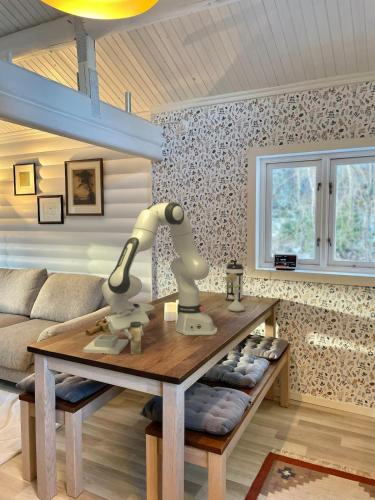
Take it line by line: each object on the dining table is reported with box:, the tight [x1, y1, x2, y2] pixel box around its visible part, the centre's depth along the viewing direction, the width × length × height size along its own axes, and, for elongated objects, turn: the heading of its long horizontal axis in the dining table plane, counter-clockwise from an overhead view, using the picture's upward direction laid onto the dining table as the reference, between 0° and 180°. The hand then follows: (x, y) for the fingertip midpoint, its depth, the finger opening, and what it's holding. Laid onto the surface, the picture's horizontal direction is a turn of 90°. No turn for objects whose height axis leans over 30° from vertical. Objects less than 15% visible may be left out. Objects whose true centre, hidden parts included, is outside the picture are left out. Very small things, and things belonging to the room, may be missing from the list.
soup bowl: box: [135, 302, 155, 317], centre depth 224 cm, size 24×24×7 cm
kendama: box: [85, 318, 110, 336], centre depth 196 cm, size 8×6×18 cm
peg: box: [130, 322, 142, 356], centre depth 164 cm, size 5×5×13 cm
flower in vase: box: [225, 273, 246, 313], centre depth 245 cm, size 13×11×25 cm
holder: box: [82, 334, 129, 355], centre depth 171 cm, size 16×16×4 cm
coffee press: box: [225, 259, 245, 303], centre depth 277 cm, size 17×16×30 cm
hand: (136, 336), depth 164 cm, fingers closed on peg, 4 cm apart
